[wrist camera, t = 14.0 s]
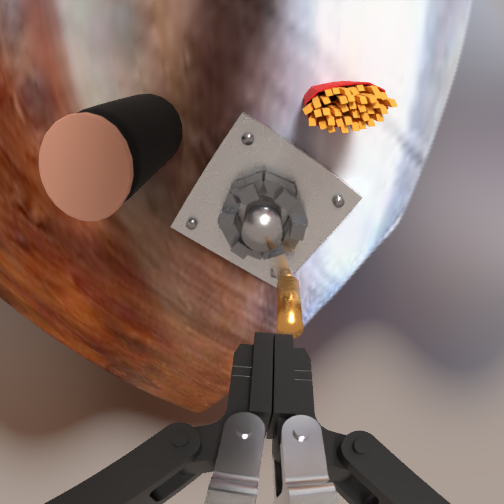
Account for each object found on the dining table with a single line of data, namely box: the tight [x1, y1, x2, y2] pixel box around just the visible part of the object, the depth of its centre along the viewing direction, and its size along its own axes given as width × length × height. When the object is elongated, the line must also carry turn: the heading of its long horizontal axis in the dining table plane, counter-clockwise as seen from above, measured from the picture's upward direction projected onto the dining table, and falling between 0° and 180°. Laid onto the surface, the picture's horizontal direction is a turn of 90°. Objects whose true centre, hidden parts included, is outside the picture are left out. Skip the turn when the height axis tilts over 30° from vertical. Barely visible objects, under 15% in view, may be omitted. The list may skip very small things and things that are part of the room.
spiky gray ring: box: [217, 172, 308, 338], centre depth 39 cm, size 17×11×13 cm, turn 22°
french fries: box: [303, 81, 397, 133], centre depth 30 cm, size 9×4×13 cm, turn 106°
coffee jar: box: [39, 94, 182, 221], centre depth 32 cm, size 11×11×18 cm
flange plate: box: [171, 111, 362, 288], centre depth 41 cm, size 20×20×8 cm
